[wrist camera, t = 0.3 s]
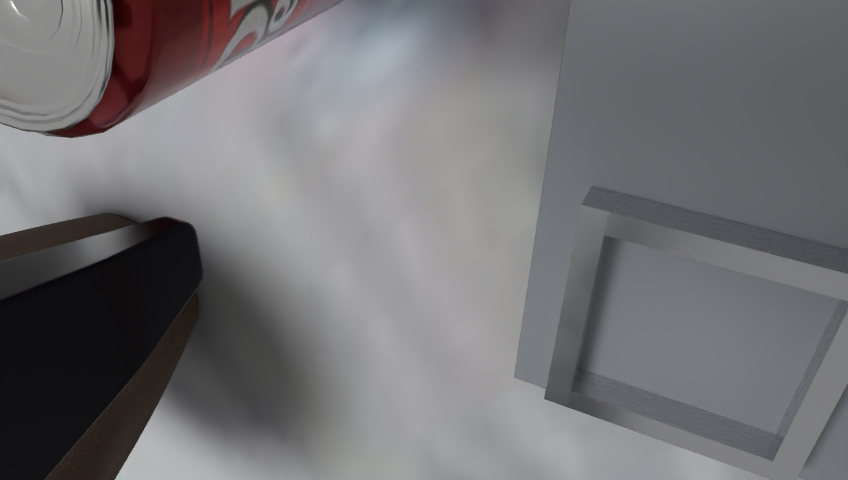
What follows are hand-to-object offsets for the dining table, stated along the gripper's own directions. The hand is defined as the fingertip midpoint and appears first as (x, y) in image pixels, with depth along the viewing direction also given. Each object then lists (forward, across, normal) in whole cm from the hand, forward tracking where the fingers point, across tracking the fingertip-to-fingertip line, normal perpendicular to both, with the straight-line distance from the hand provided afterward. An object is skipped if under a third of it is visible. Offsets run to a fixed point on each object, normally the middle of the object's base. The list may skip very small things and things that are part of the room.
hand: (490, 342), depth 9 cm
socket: (+13, -3, +9) cm, 16 cm away
